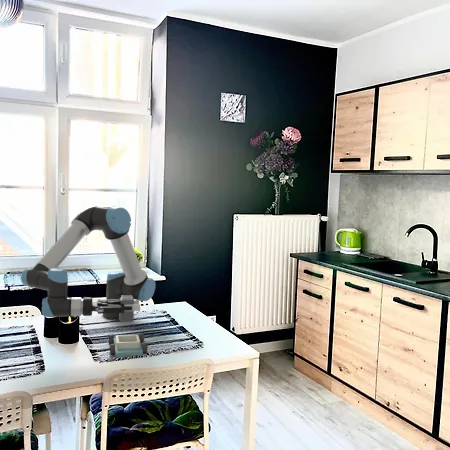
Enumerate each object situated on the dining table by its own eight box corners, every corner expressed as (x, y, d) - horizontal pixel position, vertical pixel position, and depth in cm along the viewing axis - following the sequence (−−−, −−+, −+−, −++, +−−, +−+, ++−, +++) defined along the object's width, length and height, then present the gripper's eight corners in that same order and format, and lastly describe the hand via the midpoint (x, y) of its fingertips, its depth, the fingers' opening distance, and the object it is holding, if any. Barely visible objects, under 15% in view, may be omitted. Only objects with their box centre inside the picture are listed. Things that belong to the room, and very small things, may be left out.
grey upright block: (120, 321, 197) (120, 298, 196) (119, 318, 202) (120, 295, 201) (133, 321, 198) (134, 298, 197) (132, 317, 203) (133, 294, 202)
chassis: (108, 341, 208) (108, 332, 207) (142, 339, 212) (143, 330, 211) (110, 356, 191) (110, 347, 190) (147, 354, 195) (148, 345, 194)
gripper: (82, 309, 204) (137, 308, 210) (81, 322, 186) (141, 320, 192) (83, 292, 203) (137, 291, 209) (82, 303, 185) (141, 302, 192)
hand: (139, 305), depth 201 cm, fingers closed on grey upright block, 5 cm apart
